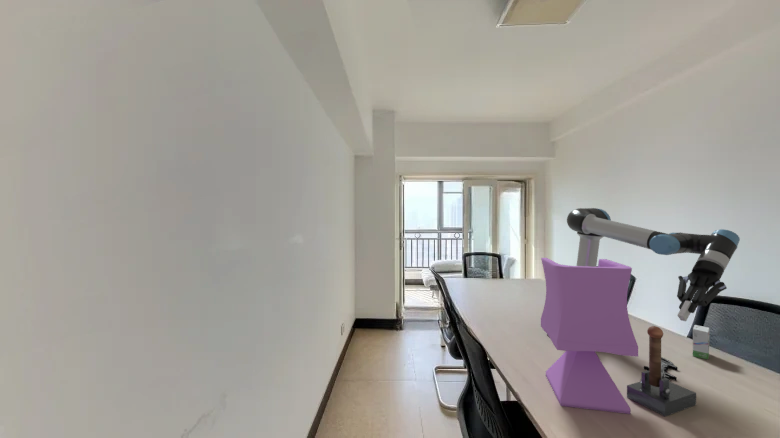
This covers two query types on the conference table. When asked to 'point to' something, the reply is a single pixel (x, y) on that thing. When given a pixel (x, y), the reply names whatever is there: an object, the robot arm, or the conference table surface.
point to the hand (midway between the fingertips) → (681, 318)
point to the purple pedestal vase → (587, 331)
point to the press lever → (655, 355)
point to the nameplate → (664, 367)
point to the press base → (661, 395)
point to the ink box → (701, 342)
